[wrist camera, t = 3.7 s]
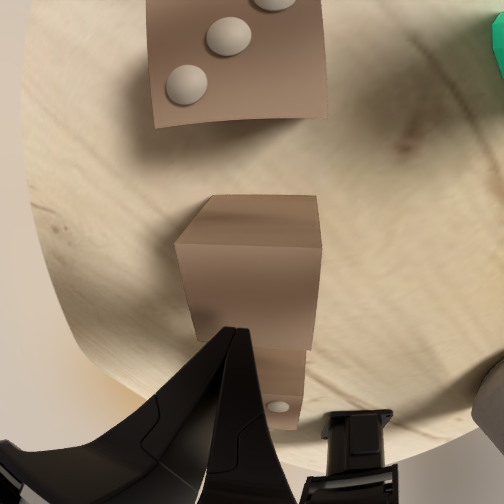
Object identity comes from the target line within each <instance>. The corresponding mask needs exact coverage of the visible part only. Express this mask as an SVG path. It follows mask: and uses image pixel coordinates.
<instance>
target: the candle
mask: <svg viewBox="0 0 504 504" xmlns="http://www.w3.org/2000/svg"><path fill="white" fill-rule="evenodd" d="M492 49H493V51H494V54H495V57H496V59H497V62H498V65H499V68H500V72H501V75H502V77H503V79H504V12H501V13H500V14H499V15H498V17H497V18H496V20H495V21H494V22H493V24H492Z"/></svg>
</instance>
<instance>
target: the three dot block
mask: <svg viewBox="0 0 504 504" xmlns="http://www.w3.org/2000/svg"><path fill="white" fill-rule="evenodd" d="M146 29H147V50H148V65H149V78H150V89H151V99H152V108H153V117H154V125H155V129H158V128H164V127H171V126H178V125H186V124H194V123H204V122H214V121H226V120H241V119H265V118H315V119H328V117H327V79H326V59H325V43H324V31H323V19H322V9H321V0H146Z"/></svg>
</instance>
